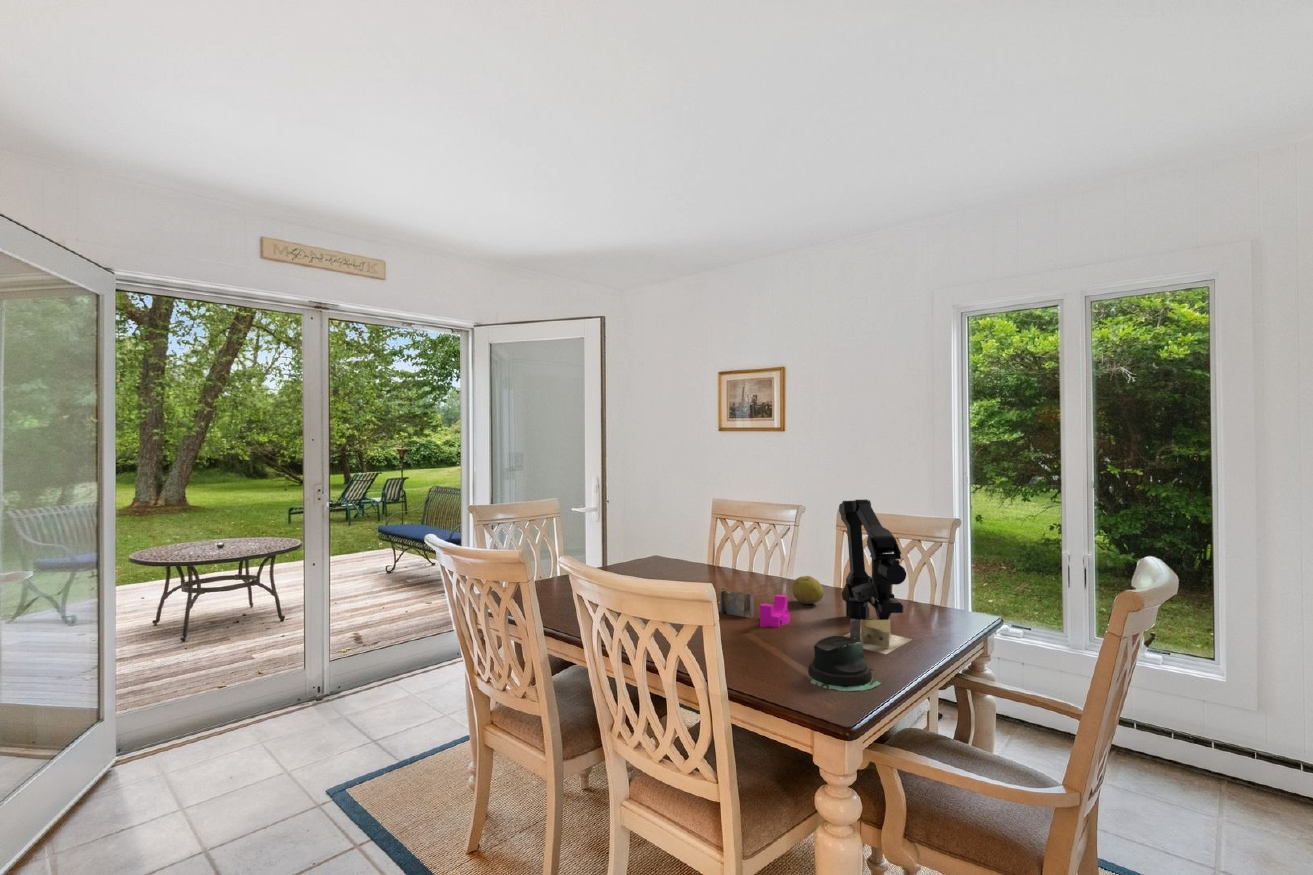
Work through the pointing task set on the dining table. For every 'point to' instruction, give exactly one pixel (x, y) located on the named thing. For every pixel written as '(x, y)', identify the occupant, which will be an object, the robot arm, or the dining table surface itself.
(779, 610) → the toy block
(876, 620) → the brass leaf
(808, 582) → the fruit
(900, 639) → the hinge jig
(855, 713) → the dining table surface
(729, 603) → the ruin model on sheet
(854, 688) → the dark green hat
